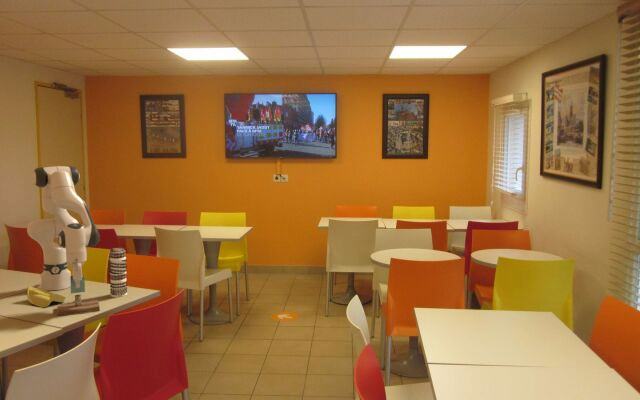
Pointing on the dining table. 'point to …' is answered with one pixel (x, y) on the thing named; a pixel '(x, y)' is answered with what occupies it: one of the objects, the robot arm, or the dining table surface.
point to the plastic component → (42, 297)
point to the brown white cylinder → (118, 272)
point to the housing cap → (73, 285)
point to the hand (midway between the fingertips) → (77, 285)
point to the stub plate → (78, 307)
